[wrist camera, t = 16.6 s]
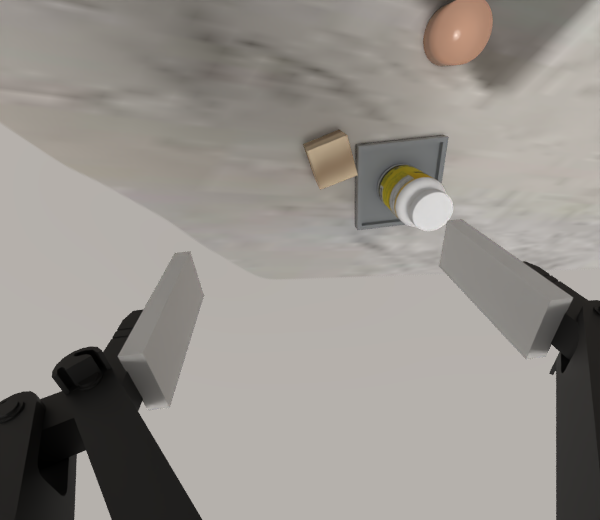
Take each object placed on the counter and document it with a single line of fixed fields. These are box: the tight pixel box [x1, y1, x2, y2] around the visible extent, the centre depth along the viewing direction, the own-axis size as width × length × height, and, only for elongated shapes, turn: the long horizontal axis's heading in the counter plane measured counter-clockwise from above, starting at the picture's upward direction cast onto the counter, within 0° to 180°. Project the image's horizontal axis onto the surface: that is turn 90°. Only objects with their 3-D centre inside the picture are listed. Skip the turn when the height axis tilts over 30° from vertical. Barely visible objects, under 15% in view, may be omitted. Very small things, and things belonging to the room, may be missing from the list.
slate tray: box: [355, 135, 448, 230], centre depth 43 cm, size 12×12×2 cm
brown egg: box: [423, 0, 493, 66], centre depth 34 cm, size 6×6×4 cm
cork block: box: [303, 130, 358, 190], centre depth 39 cm, size 5×5×5 cm
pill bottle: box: [378, 164, 453, 231], centre depth 39 cm, size 6×6×11 cm
